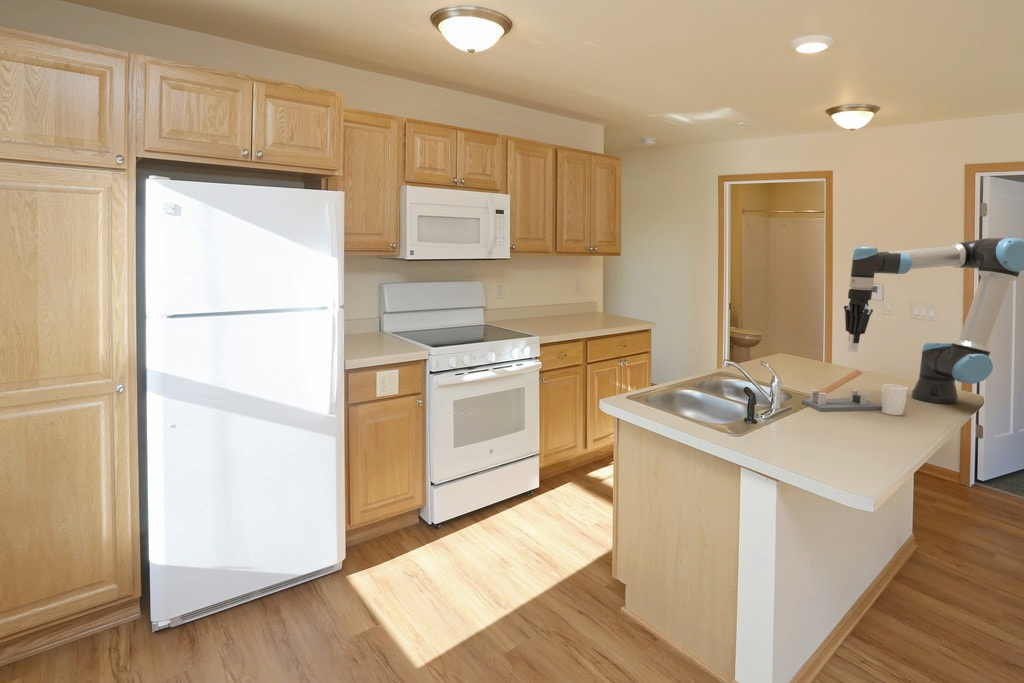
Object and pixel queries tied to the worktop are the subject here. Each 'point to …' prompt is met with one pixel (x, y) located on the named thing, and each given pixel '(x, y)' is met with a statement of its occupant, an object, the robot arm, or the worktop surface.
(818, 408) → the mount
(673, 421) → the worktop surface
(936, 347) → the robot arm
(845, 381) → the strap
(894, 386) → the white cup
